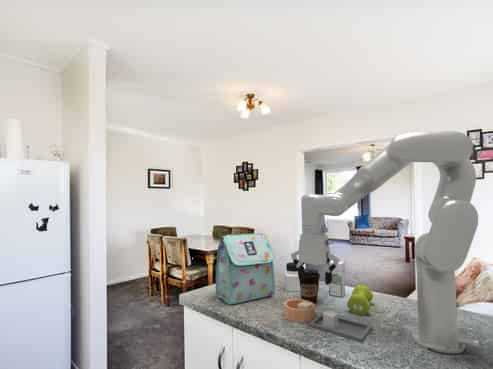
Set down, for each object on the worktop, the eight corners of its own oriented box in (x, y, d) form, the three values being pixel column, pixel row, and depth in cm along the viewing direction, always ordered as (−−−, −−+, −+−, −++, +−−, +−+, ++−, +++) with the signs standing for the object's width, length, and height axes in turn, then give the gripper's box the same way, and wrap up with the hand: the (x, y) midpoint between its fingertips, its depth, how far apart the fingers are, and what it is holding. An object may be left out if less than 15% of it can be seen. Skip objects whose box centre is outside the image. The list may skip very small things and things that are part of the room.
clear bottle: (345, 294, 125) (345, 260, 125) (342, 298, 120) (341, 263, 120) (332, 291, 128) (332, 259, 129) (328, 295, 123) (328, 261, 124)
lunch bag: (229, 308, 108) (230, 237, 109) (212, 295, 122) (213, 232, 124) (278, 297, 120) (278, 233, 121) (257, 287, 134) (257, 230, 135)
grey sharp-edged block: (338, 327, 91) (338, 313, 91) (333, 332, 88) (333, 317, 88) (327, 324, 93) (327, 310, 93) (323, 328, 90) (322, 314, 90)
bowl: (319, 316, 100) (319, 303, 101) (306, 326, 92) (306, 312, 92) (293, 309, 107) (293, 297, 107) (278, 318, 99) (278, 305, 99)
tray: (372, 330, 90) (372, 325, 90) (362, 344, 81) (361, 338, 81) (322, 317, 100) (322, 312, 100) (308, 328, 91) (308, 323, 92)
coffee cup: (320, 308, 108) (320, 273, 109) (298, 306, 110) (298, 272, 111) (319, 300, 117) (319, 268, 118) (299, 298, 118) (298, 267, 119)
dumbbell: (353, 300, 117) (352, 282, 118) (374, 304, 113) (373, 285, 114) (345, 314, 103) (345, 294, 103) (369, 319, 99) (369, 298, 99)
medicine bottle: (302, 291, 128) (301, 264, 128) (286, 291, 128) (286, 264, 129) (299, 286, 135) (299, 261, 136) (284, 286, 135) (284, 261, 136)
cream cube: (312, 316, 99) (311, 303, 99) (306, 320, 96) (306, 306, 96) (303, 314, 101) (302, 301, 102) (297, 317, 98) (297, 304, 98)
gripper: (342, 230, 94) (343, 283, 93) (296, 228, 105) (297, 275, 104) (333, 233, 89) (335, 288, 88) (285, 230, 100) (286, 279, 98)
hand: (314, 281), depth 96 cm, fingers open, 9 cm apart
